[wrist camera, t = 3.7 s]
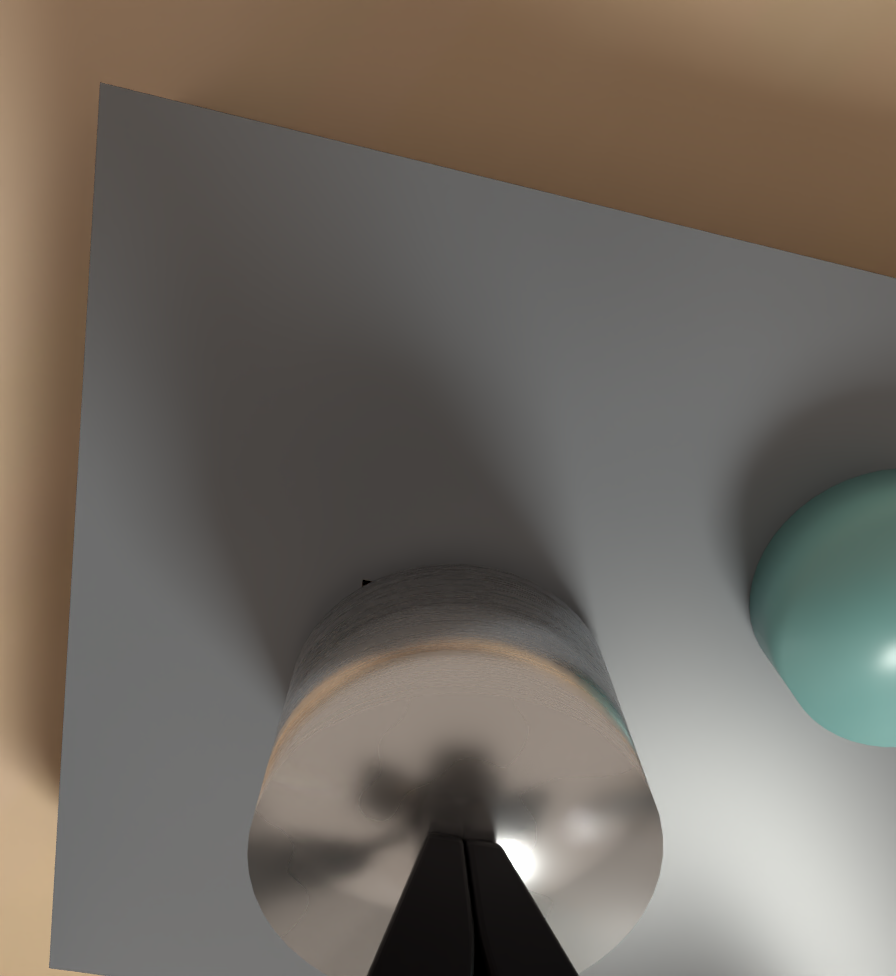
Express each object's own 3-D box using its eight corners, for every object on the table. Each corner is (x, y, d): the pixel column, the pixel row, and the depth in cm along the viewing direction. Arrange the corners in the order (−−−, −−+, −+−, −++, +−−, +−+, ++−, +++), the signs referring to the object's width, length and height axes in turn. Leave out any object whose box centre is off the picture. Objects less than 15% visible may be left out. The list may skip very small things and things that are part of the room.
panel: (105, 851, 16) (48, 968, 14) (171, 102, 11) (100, 82, 8) (1076, 996, 18) (1172, 1118, 16) (1506, 430, 13) (1737, 485, 11)
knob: (296, 693, 14) (223, 977, 9) (340, 463, 13) (279, 656, 8) (538, 735, 15) (594, 1028, 10) (609, 518, 13) (723, 735, 8)
